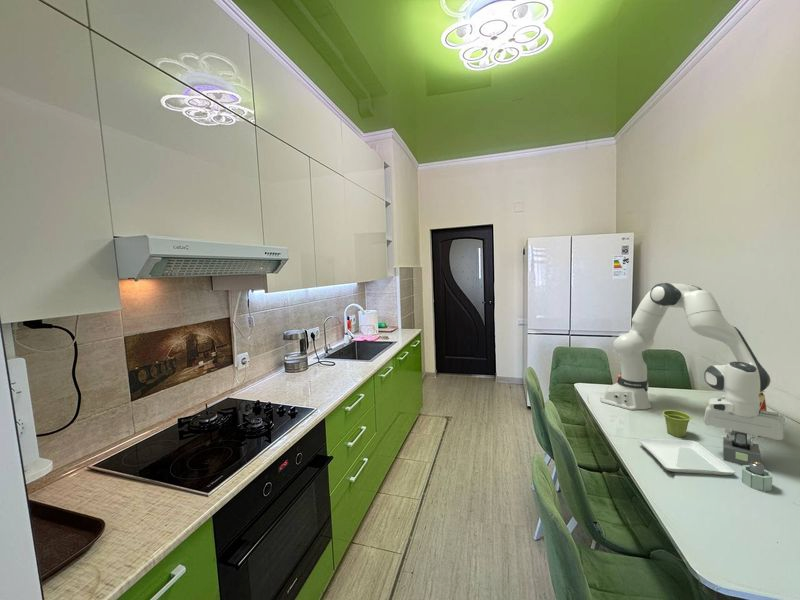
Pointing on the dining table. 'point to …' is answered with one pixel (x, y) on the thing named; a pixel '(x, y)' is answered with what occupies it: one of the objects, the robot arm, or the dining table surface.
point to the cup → (757, 479)
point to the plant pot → (676, 422)
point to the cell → (740, 440)
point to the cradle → (740, 453)
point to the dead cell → (757, 468)
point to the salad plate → (669, 454)
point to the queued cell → (731, 433)
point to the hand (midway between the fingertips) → (740, 442)
